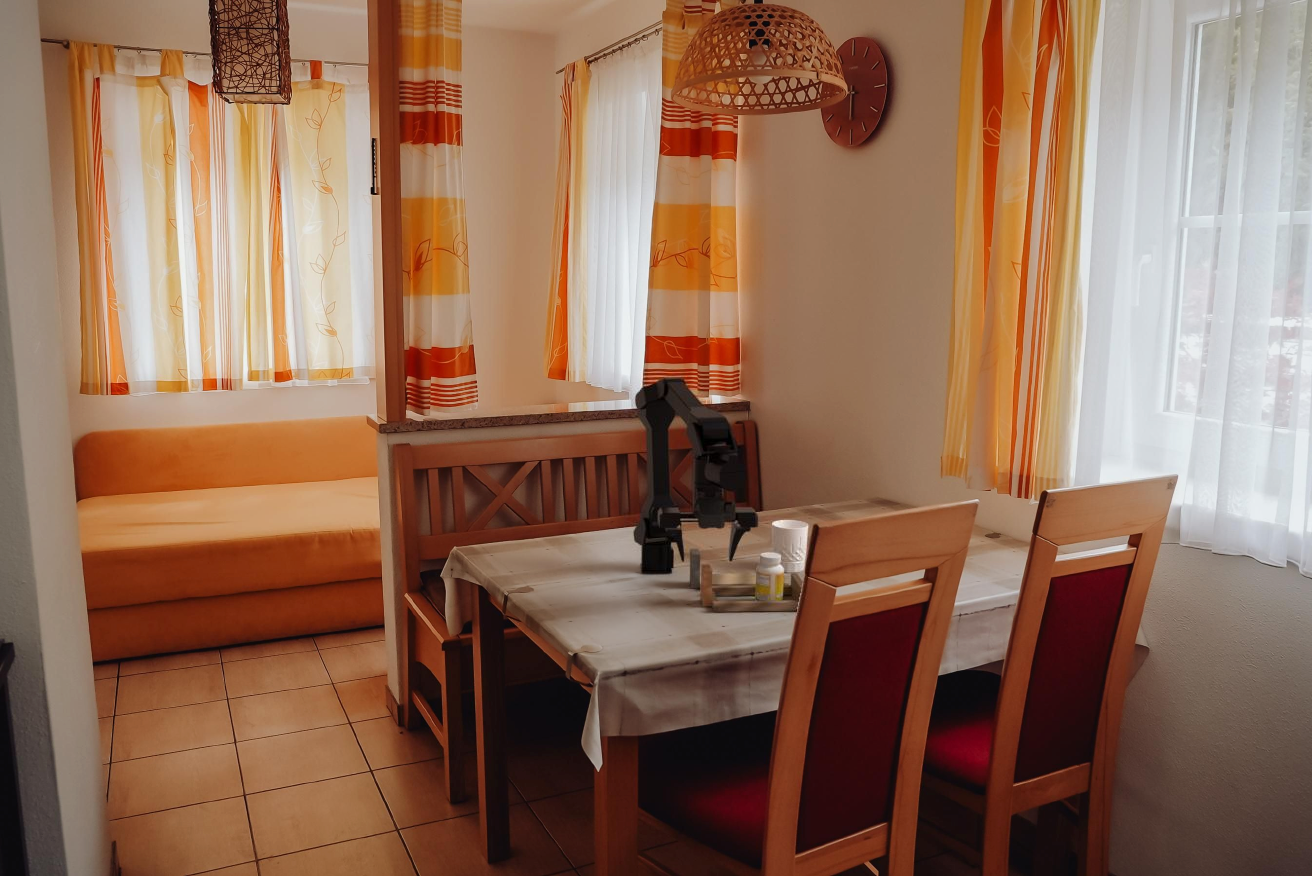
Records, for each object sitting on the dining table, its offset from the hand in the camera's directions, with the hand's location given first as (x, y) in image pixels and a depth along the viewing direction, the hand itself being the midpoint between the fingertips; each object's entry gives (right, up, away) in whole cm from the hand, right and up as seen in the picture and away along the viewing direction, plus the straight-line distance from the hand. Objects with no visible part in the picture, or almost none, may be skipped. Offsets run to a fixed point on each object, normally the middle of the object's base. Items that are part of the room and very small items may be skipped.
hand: (706, 561), depth 188 cm
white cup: (+19, -5, +25) cm, 32 cm away
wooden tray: (+10, -8, +2) cm, 13 cm away
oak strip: (+8, -7, +13) cm, 17 cm away
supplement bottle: (+12, -9, +2) cm, 15 cm away
